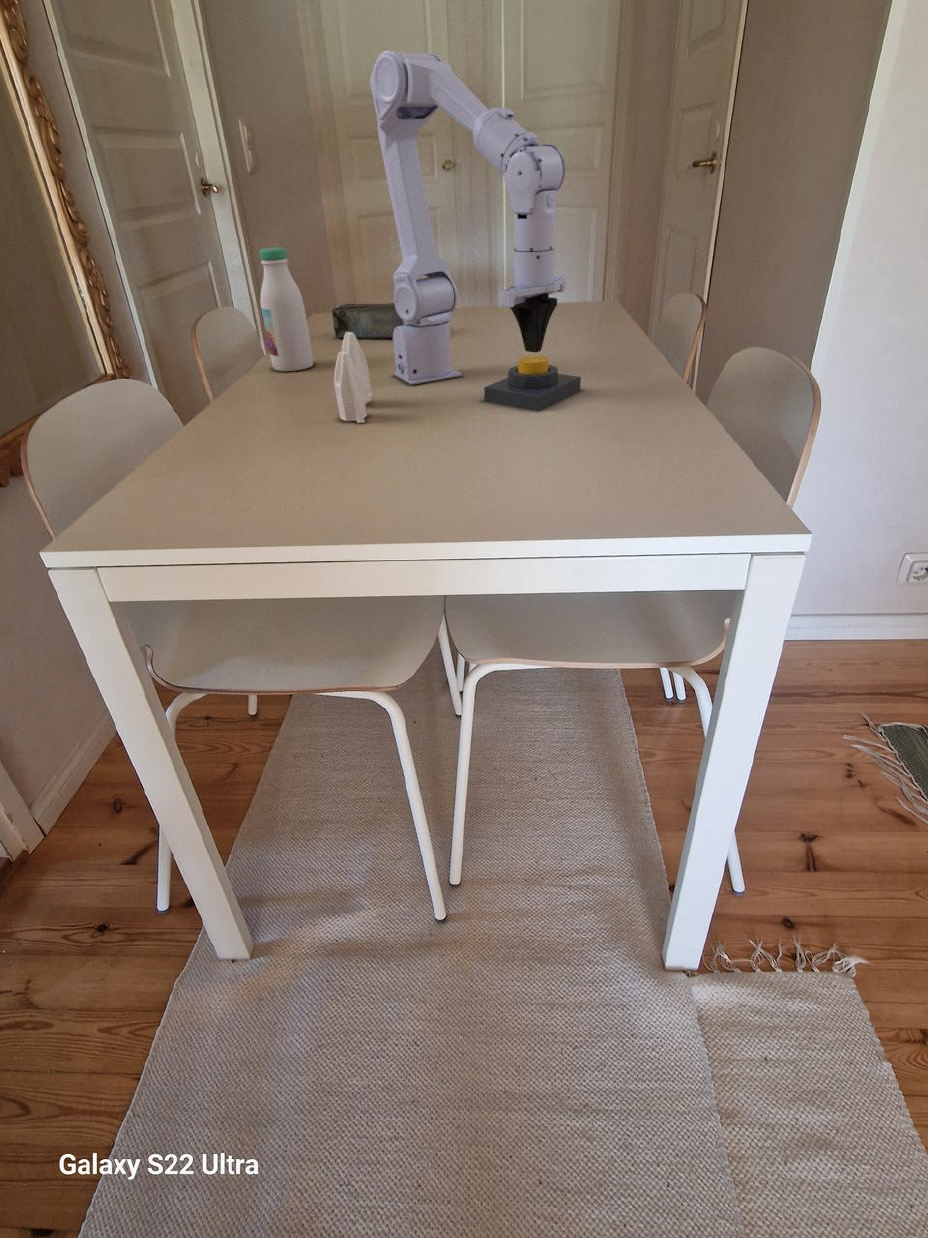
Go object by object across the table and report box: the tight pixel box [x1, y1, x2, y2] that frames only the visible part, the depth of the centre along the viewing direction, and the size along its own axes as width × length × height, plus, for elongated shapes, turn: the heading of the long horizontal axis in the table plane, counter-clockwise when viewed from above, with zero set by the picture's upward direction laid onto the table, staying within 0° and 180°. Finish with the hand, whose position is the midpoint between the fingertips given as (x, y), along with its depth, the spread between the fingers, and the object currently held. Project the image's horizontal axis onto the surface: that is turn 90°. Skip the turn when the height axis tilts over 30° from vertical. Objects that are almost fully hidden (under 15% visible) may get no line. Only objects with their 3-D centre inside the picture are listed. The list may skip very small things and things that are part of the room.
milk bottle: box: [258, 247, 314, 372], centre depth 125 cm, size 8×8×20 cm
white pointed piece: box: [333, 332, 373, 424], centre depth 102 cm, size 12×4×11 cm, turn 179°
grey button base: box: [483, 364, 582, 412], centre depth 106 cm, size 12×10×4 cm
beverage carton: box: [331, 302, 405, 339], centre depth 149 cm, size 8×19×7 cm, turn 74°
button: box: [517, 354, 549, 374], centre depth 105 cm, size 5×5×2 cm
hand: (533, 350), depth 104 cm, fingers closed
